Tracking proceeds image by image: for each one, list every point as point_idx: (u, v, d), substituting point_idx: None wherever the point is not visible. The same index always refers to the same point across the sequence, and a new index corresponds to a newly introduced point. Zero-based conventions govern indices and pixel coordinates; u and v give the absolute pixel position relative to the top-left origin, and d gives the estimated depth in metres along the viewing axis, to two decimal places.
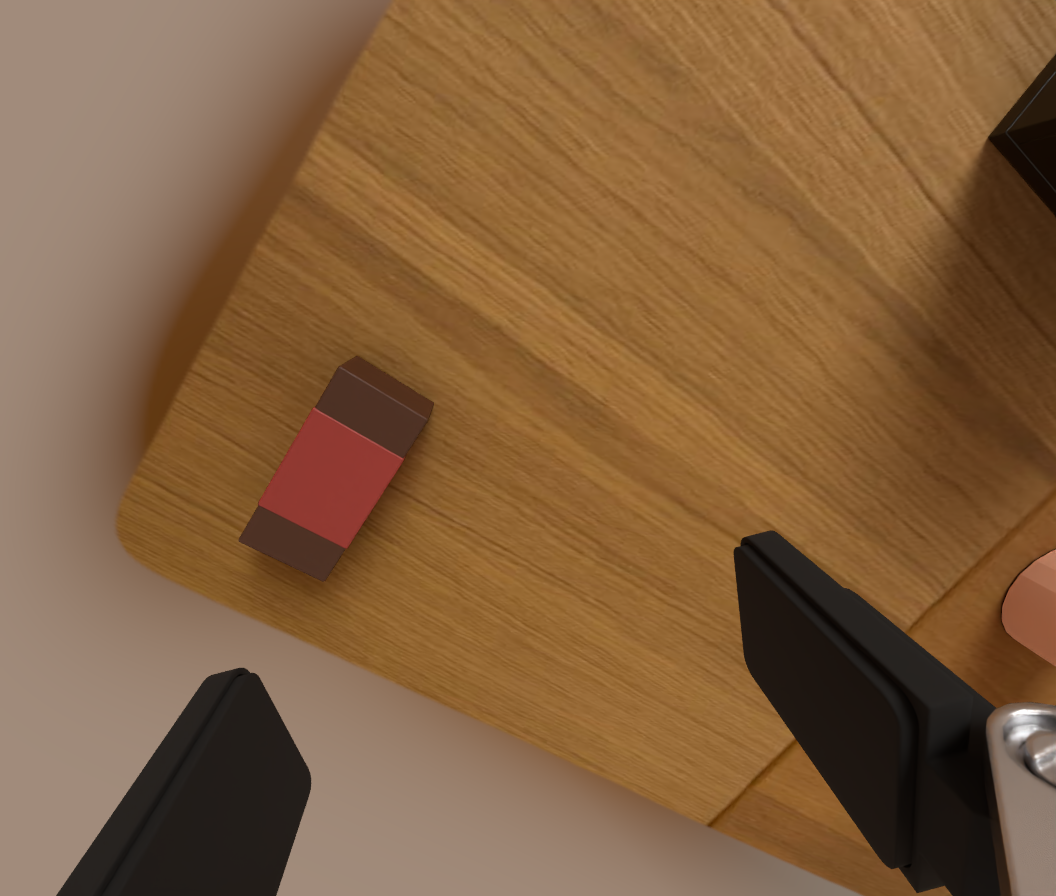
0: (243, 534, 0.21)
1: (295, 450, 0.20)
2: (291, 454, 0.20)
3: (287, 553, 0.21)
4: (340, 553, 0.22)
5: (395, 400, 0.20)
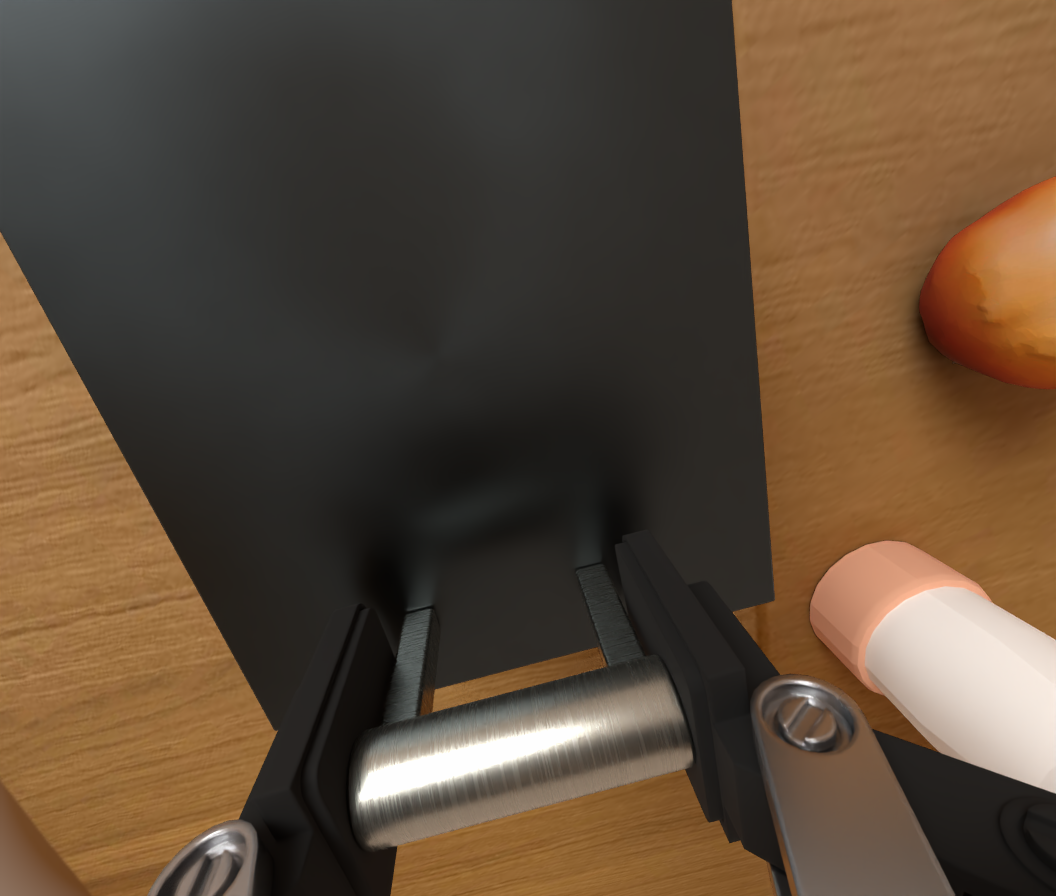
0: None
1: None
2: None
3: None
4: None
5: None
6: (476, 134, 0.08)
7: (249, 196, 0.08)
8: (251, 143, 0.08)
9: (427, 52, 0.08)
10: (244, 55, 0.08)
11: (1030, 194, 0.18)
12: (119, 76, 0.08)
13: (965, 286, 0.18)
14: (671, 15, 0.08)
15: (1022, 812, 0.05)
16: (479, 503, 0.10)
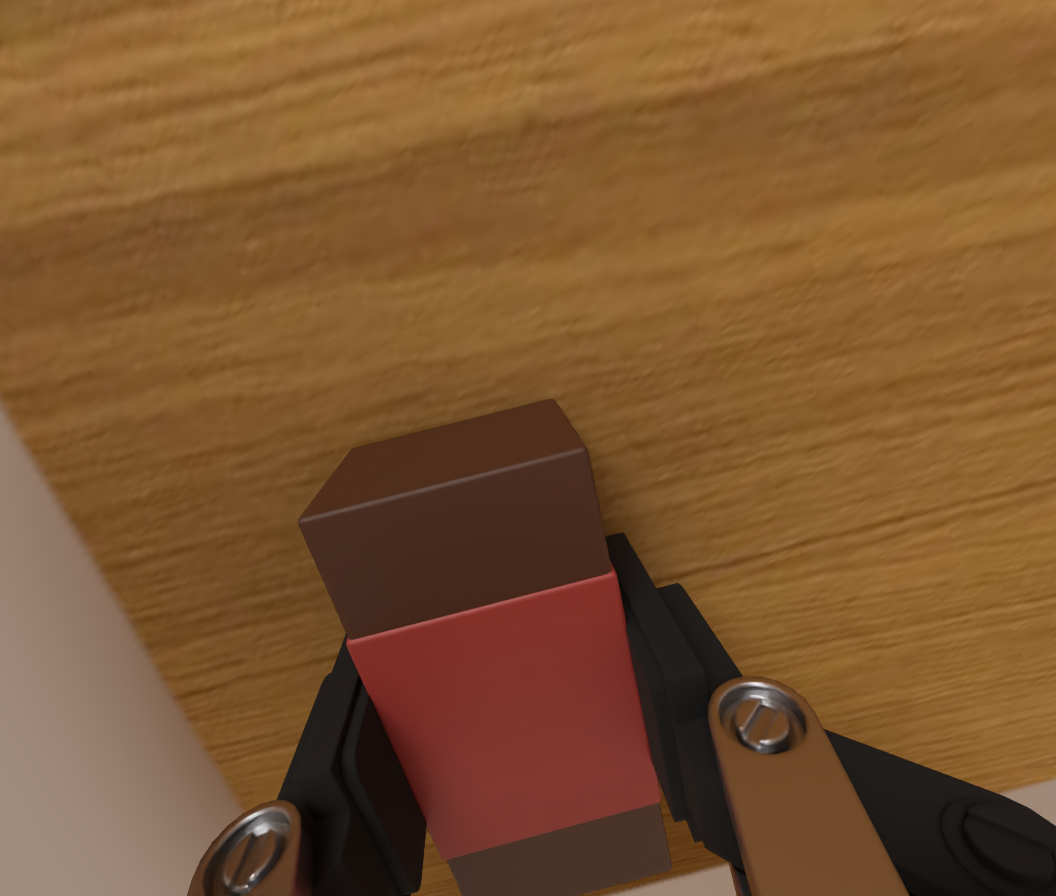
0: None
1: (402, 738, 0.08)
2: (403, 749, 0.08)
3: (568, 881, 0.09)
4: (657, 814, 0.09)
5: (478, 475, 0.07)
6: None
7: None
8: None
9: None
10: None
11: None
12: None
13: None
14: None
15: (965, 812, 0.05)
16: None
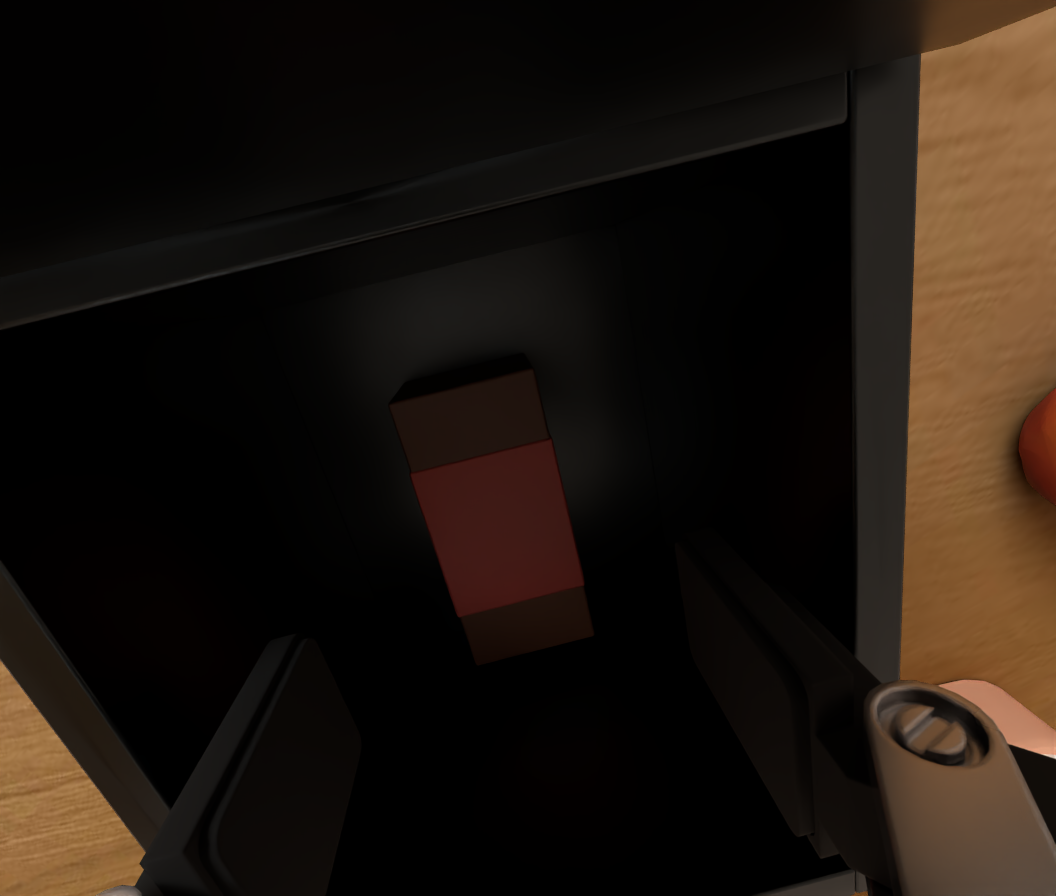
0: (474, 656, 0.16)
1: (437, 533, 0.14)
2: (437, 540, 0.14)
3: (532, 638, 0.16)
4: (583, 594, 0.15)
5: (478, 381, 0.13)
6: None
7: None
8: None
9: None
10: None
11: None
12: None
13: None
14: None
15: None
16: None
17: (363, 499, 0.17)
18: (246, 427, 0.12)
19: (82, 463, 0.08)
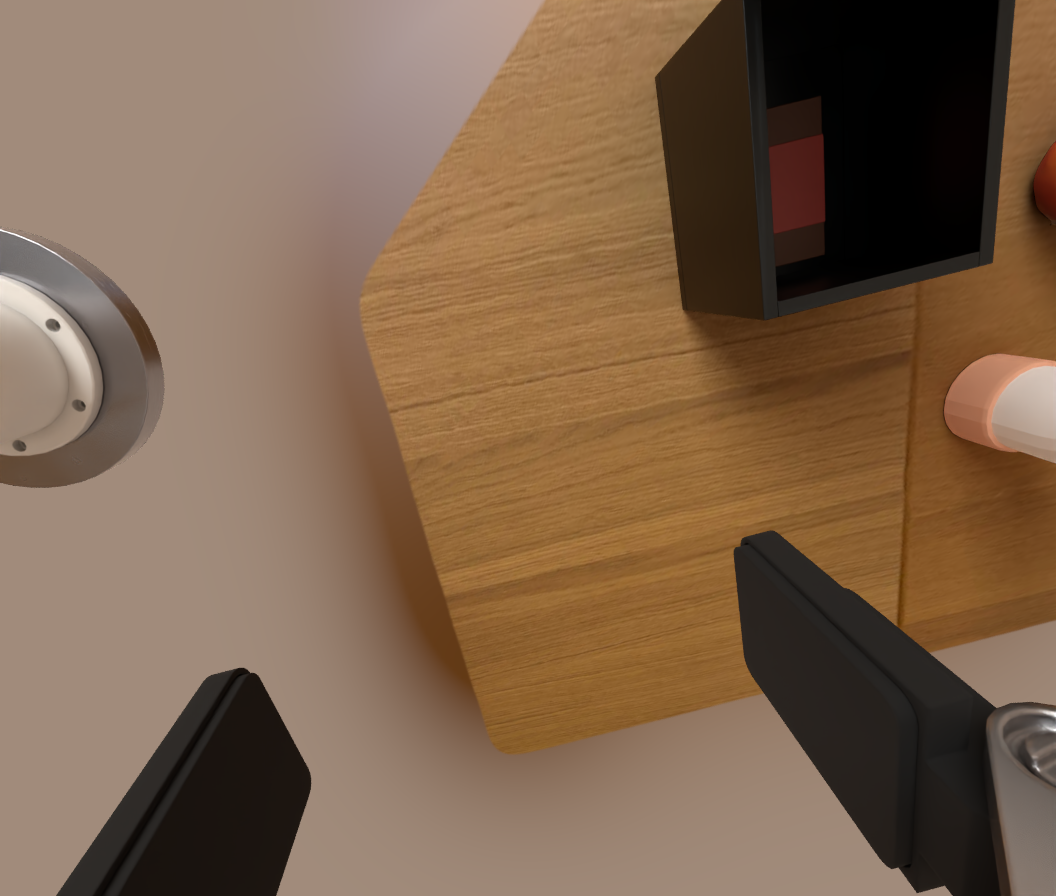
0: None
1: None
2: None
3: (795, 253, 0.32)
4: (823, 227, 0.31)
5: (796, 101, 0.29)
6: None
7: None
8: None
9: None
10: None
11: None
12: None
13: None
14: None
15: None
16: None
17: None
18: None
19: None
